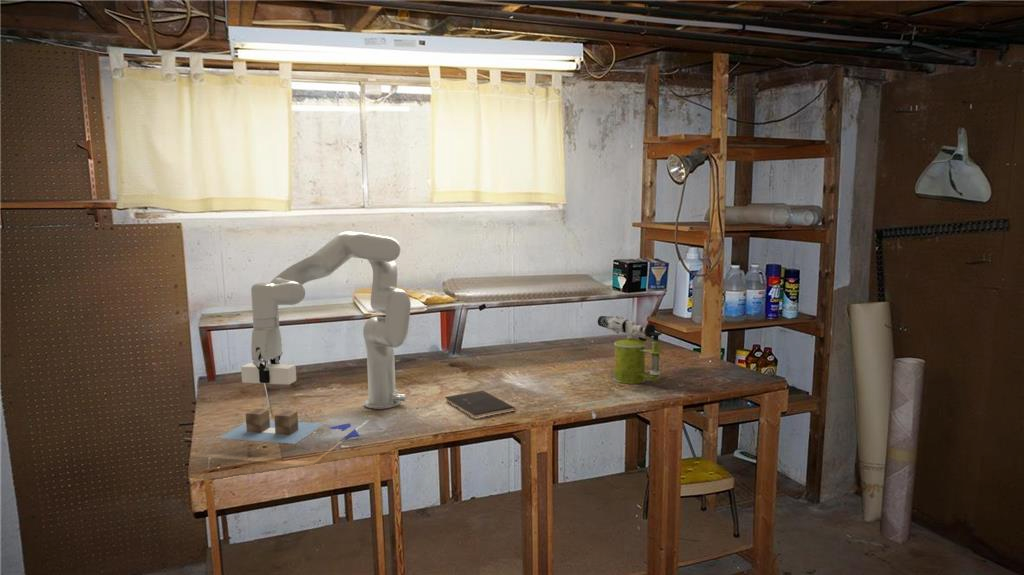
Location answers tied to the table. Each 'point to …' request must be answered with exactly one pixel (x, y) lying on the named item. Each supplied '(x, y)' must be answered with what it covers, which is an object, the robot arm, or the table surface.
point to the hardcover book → (479, 403)
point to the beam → (270, 373)
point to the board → (272, 433)
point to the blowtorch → (632, 350)
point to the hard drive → (351, 435)
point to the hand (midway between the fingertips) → (269, 379)
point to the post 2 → (286, 422)
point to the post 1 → (257, 420)
